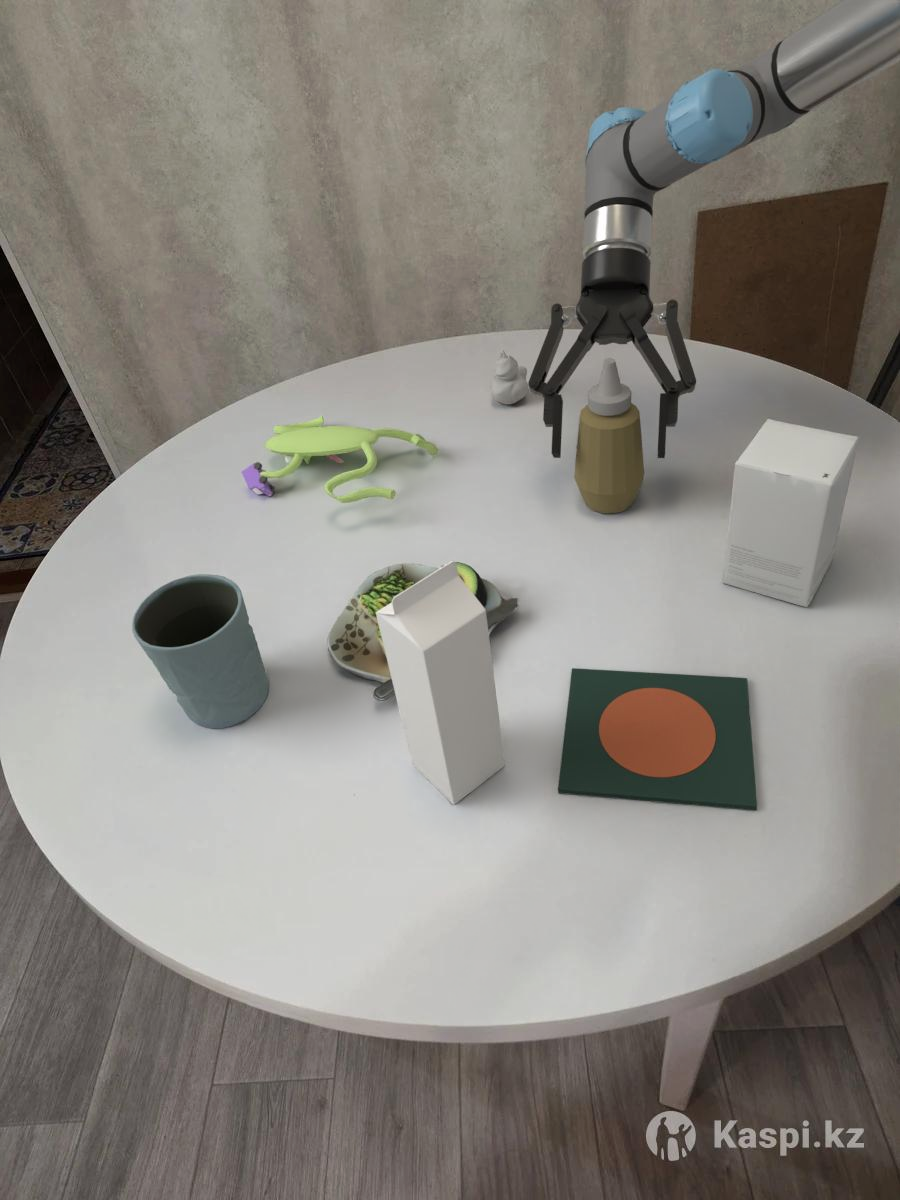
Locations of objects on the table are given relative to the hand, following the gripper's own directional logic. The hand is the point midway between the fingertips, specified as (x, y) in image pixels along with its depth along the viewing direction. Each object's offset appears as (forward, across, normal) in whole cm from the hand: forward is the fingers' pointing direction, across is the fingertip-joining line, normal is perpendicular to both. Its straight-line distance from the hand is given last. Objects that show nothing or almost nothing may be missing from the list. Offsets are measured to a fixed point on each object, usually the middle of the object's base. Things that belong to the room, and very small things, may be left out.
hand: (607, 455), depth 95 cm
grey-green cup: (+28, +36, +16) cm, 48 cm away
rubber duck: (-13, +15, -25) cm, 32 cm away
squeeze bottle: (+4, 0, -8) cm, 9 cm away
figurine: (0, +35, -11) cm, 37 cm away
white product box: (+12, -18, +1) cm, 22 cm away
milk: (+32, +11, +20) cm, 40 cm away
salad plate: (+20, +18, +8) cm, 28 cm away
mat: (+28, -6, +17) cm, 34 cm away
